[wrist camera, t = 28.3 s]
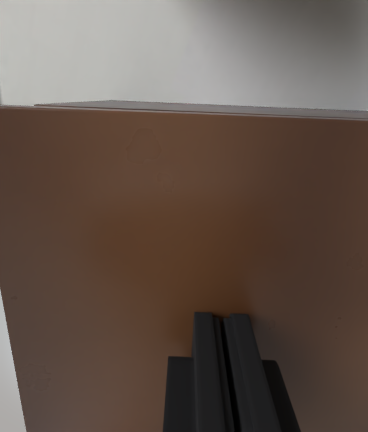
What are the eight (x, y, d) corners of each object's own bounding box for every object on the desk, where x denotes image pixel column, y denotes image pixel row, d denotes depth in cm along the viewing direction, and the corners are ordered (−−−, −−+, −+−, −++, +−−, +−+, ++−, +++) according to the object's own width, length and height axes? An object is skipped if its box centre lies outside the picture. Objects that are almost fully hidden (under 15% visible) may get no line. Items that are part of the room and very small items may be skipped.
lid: (45, 474, 13) (38, 497, 12) (-17, 103, 8) (-35, 104, 7) (409, 462, 14) (423, 482, 13) (550, 126, 9) (584, 128, 8)
